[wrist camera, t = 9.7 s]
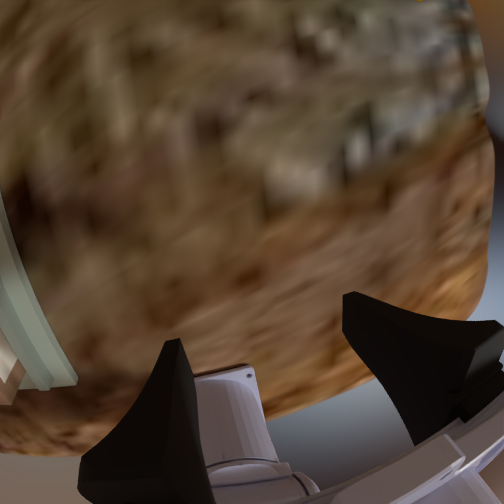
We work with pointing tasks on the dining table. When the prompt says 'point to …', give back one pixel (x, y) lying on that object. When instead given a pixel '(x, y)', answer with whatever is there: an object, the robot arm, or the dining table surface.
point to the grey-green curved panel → (28, 322)
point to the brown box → (9, 372)
